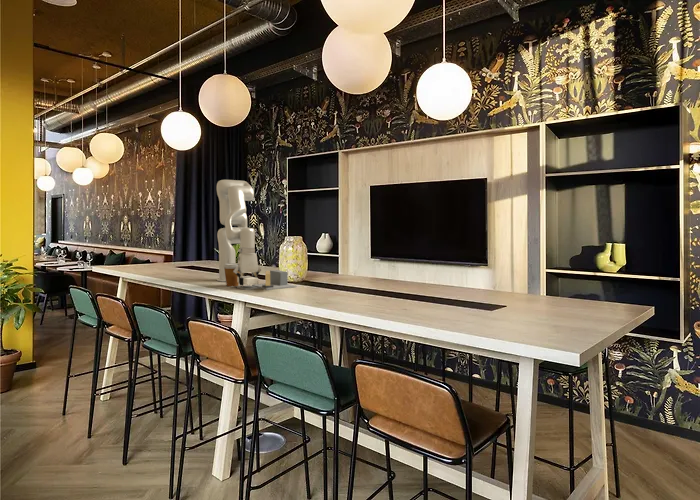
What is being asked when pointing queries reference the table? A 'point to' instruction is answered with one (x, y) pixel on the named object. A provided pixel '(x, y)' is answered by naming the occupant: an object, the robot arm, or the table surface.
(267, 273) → the tan rectangular wooden board
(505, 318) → the table surface
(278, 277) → the housing
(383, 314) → the table surface
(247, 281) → the cover
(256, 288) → the mat
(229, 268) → the disposable coffee cup
